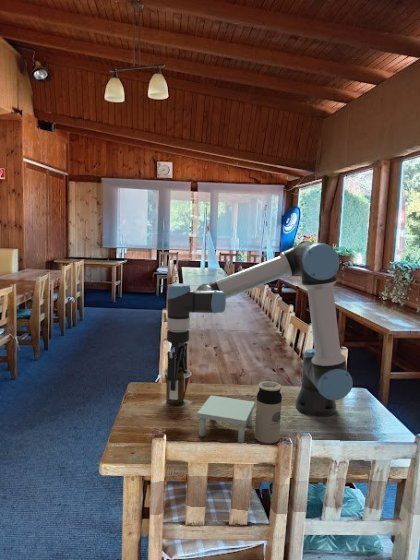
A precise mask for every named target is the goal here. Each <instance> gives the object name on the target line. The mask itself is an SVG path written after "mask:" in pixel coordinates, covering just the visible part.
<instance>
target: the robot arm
mask: <svg viewBox="0 0 420 560" xmlns="http://www.w3.org/2000/svg"><path fill="white" fill-rule="evenodd" d="M340 264H341V263H340V256H339V254H338V253H337V250H336V249H334V248H333V246H331V245H329V244H326V243H324V242H316V241H305V242H302V243H299V244H298V245H295V246H293V247H292V248H289V249H286V250H284V251H282V252H280V254H279V256H277V257H274V258H272V259H268V260H266V261H264V262H263V261H262V262H261V263H259V264H256V265H253V266H251V267H249V268H248V267H247V268H246V269H242V270H240V271H238V272H235V273H233V274H231V275H230V274H229V275H228V276H224V277H222V278H220V279H217V280H214V281H212V282H210V283H203V284H200V285H199V286H198V287H197V288H196V290H195V289H194V290H193V289H191V286H190V284H188V283H171V284H169V285H168V287H167V298H166V303H167V304H166V310H167V311H166V312H167V313H166V317H167V318H166V319H165V321H166V323H167V324H166V326H167V327H166V329H167V330H166V340H167V342H168V343H170V344H171V346H170V351H167V353H166V355H167V367H166V369H167V381H170V399H174V400H177V399H178V380H177V375H178V367H182V368H183V376H184V390H185V374H187V371H185V370H188V342H189V340H190V330H189V329H190V320H191V319H190V314H191V313H196V314H197V313H198V314H199V313H201V314H204V313H205V314H206V313H207V314H220V313H224V312H225V310H226V305H227V304H226V300H227V299H230V298H231V297H234V296H237V295H239V294H242V293H244V292H248V291H251V290H253V289H255V288H258V287H260V286H262V285H266V284H267V283H270V282H273V281H276V280H279V279H280V278H283V277H289V278H292V277H294V276H297V275H300V276H301V277H300V279H301V284H302V286H303V287H305V288H306V290H307V296H308V297H307V298H308V306H309V315H310V322H311V323H310V324H311V331H312V341H313V346H314V347H313V348H310V349H309V348H308V349H305V351H304V353H303V357H302V360H303V362H302V373H301V374H302V376H301V387H300V390H299V393H298V395H297V397H296V399H295V408H296V409H297V410H298V411H299V412H300V413H303V414H306V415H310V416H314V417H329V416H333V415H334V414H336V412H337V403H336V401H340V400H342V399H344V398H346V397H348V394H350V393H351V392H352V389H353V384H354V383H353V382H354V381H353V378H352V376H351V374H350V372H349V371H348V368H347V359H346V358H347V357H346V356H345V355H344V354H342V353H341V347H340V346H341V345H340V335H339V328H338V319H337V309H336V303H335V302H336V301H335V299H336V298H335V291H334V285H335V284H336V283H337V282H338V277H337V272H338V271H339V267H340ZM184 373H185V374H184Z"/></svg>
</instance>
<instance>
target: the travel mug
mask: <svg viewBox="0 0 420 560" xmlns="http://www.w3.org/2000/svg"><path fill="white" fill-rule="evenodd" d="M258 389H259V390H258V391H257V393H256V403H255V407H256V409H255V426H254V438H255V439H256V440H257V441H259V442H261V443H264V444H273V443H277V442H279V440H280V432H281V430H280V429H281V414H282V401H283V400H282V399H283V396H282V394H281V390H282V385H281V384H280V383H278V382H275V381H261V382H259V383H258Z"/></svg>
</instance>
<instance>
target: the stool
mask: <svg viewBox="0 0 420 560" xmlns="http://www.w3.org/2000/svg"><path fill="white" fill-rule="evenodd" d="M255 407H256V402H255V401H251V400H250V401H249V400H243V399H237V398H231V397H230V398H229V397H226V396H225V397H224V396H219V395H218V396H217V395H210V396H209V397H208V398H207V400H206V401H205V402H204V403H203V405H202V406H201V407H200V408H199V410H198V411H197V415H196V417H197V418H199V424H198V425H199V426H198V429H199V432H198V436H199V437H205V436H206V426H207V425H206V422H207V420H210V421H218V422H224V423H230V424H236V425H238V430H237V431H238V432H237V443H238V444H244V443H245V429H246V427H252V424H253V411H254V408H255Z"/></svg>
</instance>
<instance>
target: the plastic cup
mask: <svg viewBox="0 0 420 560" xmlns="http://www.w3.org/2000/svg"><path fill="white" fill-rule="evenodd" d="M185 371H187V374H185V373H184V374H185V390H184V398H185V396H186V392H187V388H188V382H190V377H191V376H192V372H191V371H190V370H188V369H187V370H185ZM163 374H164V377H165V385H166V384H167V368H165V369H164V370H163Z"/></svg>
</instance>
